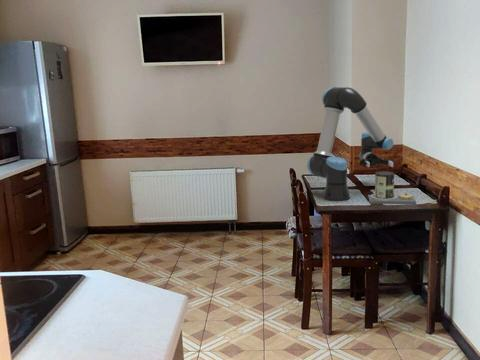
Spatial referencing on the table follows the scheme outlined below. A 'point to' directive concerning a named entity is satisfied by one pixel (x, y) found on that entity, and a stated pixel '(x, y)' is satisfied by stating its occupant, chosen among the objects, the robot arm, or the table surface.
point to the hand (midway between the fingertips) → (380, 164)
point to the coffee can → (384, 185)
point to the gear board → (393, 199)
